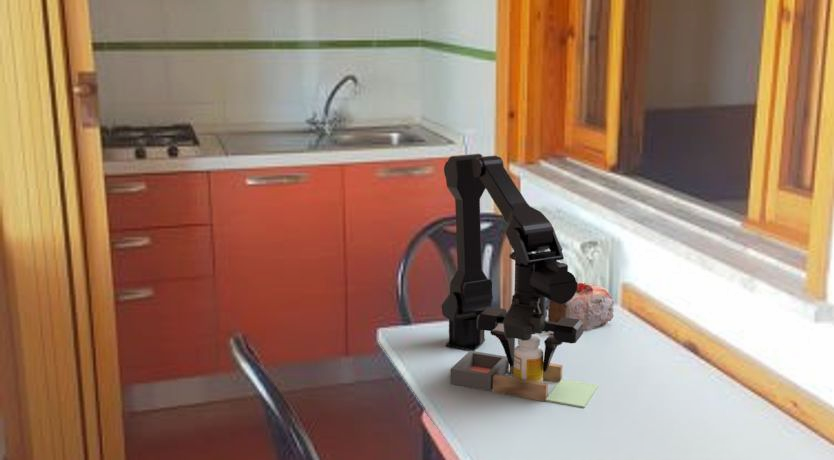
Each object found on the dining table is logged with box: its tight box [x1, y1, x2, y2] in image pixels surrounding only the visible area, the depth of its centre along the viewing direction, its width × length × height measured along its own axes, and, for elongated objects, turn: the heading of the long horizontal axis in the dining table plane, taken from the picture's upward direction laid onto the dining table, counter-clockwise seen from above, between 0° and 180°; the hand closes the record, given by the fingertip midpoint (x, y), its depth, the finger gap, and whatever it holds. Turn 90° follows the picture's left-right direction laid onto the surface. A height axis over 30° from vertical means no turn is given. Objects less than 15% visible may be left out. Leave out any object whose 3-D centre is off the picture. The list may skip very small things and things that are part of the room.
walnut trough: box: [492, 362, 563, 402], centre depth 172 cm, size 10×10×3 cm
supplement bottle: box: [513, 333, 544, 383], centre depth 171 cm, size 5×5×10 cm
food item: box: [547, 282, 615, 332], centre depth 202 cm, size 14×8×10 cm, turn 121°
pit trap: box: [449, 350, 510, 392], centre depth 176 cm, size 8×10×3 cm
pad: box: [545, 378, 599, 409], centre depth 169 cm, size 7×10×1 cm
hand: (528, 368), depth 171 cm, fingers open, 6 cm apart
